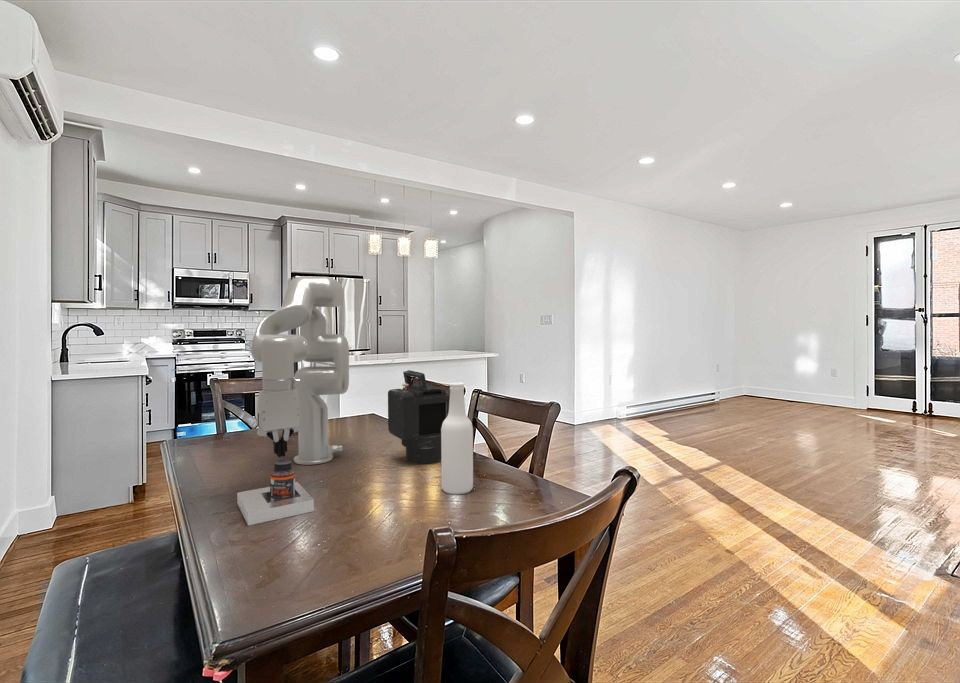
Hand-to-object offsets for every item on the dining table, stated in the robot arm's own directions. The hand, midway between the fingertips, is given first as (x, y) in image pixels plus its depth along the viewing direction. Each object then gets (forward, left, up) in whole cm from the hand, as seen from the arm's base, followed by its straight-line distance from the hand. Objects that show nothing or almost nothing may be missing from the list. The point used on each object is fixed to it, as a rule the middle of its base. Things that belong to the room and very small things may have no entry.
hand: (280, 455), depth 127 cm
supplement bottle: (0, +2, -13) cm, 13 cm away
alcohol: (-43, +17, -13) cm, 48 cm away
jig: (+2, +2, -13) cm, 13 cm away
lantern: (-48, -15, -13) cm, 52 cm away
